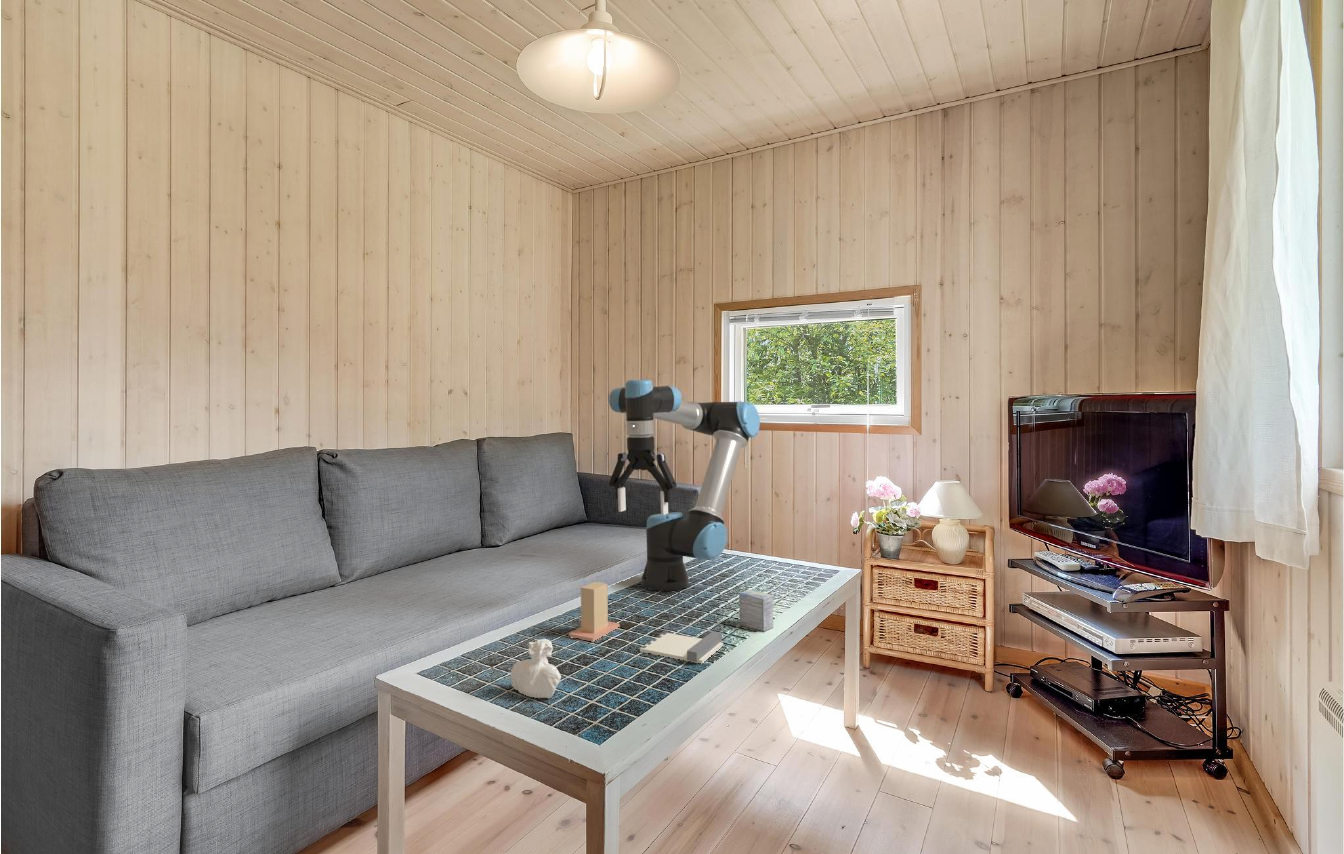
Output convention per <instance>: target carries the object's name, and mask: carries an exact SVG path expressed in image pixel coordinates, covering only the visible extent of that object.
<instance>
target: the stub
mask: <svg viewBox="0 0 1344 854" xmlns="http://www.w3.org/2000/svg"><path fill="white" fill-rule="evenodd" d="M608 603H609V602H608V583H605V582H599V581H593V582H591V583H588V584H586V585H583V586H581V587H580V621H581V622H580V627H578V628H577V629H575V630H572V631H570V632H569V633H568V637H569V636H570V637H573V638H579V639H582V640H581V641H583V640H588V641H591V642H590V643H594V641H595V640H596V641H598V640H600V639H602V638H603V637H605V636H606V634H607V635H609V634H610V633H612V632H614V631H616V630H617V629H619V628H621V627H620V623H618V622H614V621H609V618H608V617H609V615H608V614H609V612H608V611H609V610H608V608H609V607H608ZM618 627H619V628H618ZM615 629H616V630H615ZM613 630H614V631H613ZM611 631H612V632H611ZM609 632H610V633H609ZM608 633H609V634H608ZM602 636H603V637H602ZM601 637H602V638H601ZM573 638H572V639H573ZM599 638H600V639H599ZM597 639H598V640H597ZM588 641H587V642H588ZM596 641H595V642H596Z"/></svg>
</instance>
